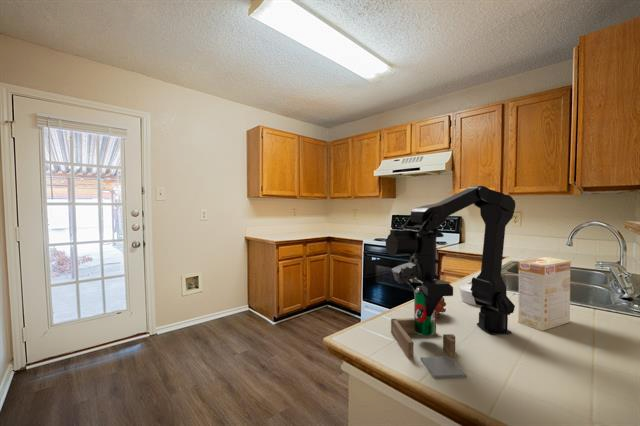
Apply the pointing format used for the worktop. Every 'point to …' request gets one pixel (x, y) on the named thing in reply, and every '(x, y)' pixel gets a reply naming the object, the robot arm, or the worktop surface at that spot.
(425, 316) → the soda can
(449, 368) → the slate coaster
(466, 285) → the ramekin
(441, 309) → the dragon fruit
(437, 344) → the worktop surface
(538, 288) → the coffeecake box
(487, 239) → the robot arm
